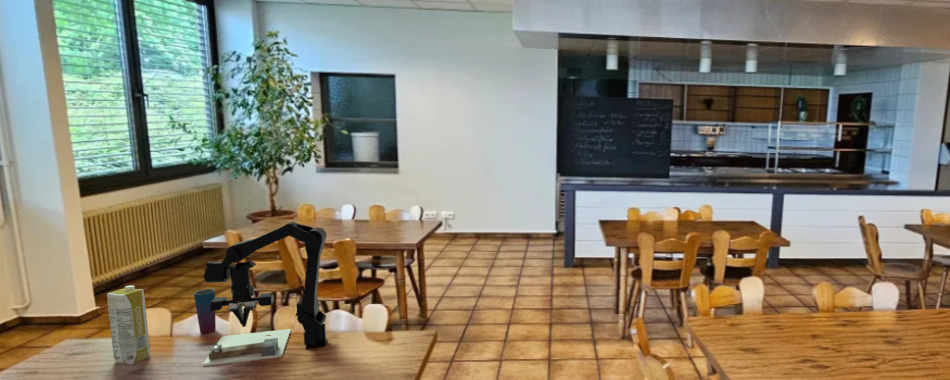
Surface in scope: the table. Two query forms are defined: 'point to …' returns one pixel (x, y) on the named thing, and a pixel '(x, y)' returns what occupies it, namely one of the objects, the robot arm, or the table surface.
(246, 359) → the base plate
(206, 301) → the cup
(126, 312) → the juice carton
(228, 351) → the link
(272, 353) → the keeper
